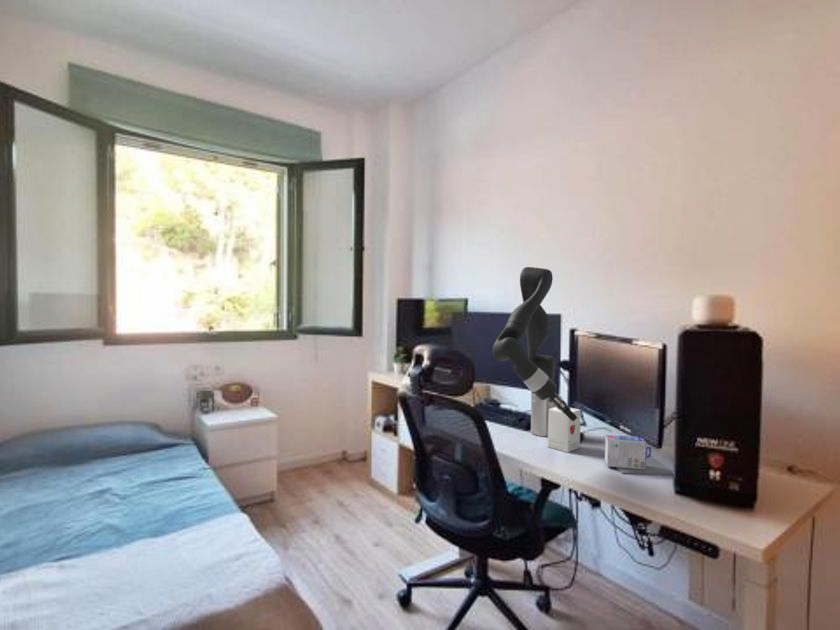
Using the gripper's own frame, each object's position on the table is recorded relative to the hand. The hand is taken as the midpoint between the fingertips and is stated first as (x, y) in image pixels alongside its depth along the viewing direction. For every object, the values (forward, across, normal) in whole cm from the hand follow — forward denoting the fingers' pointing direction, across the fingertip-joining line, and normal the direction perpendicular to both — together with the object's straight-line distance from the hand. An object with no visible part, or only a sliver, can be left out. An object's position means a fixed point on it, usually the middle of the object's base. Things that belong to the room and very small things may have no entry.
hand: (574, 419), depth 156 cm
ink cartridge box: (+15, -1, 0) cm, 15 cm away
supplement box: (+13, +18, +10) cm, 24 cm away
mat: (+27, 0, -4) cm, 27 cm away
